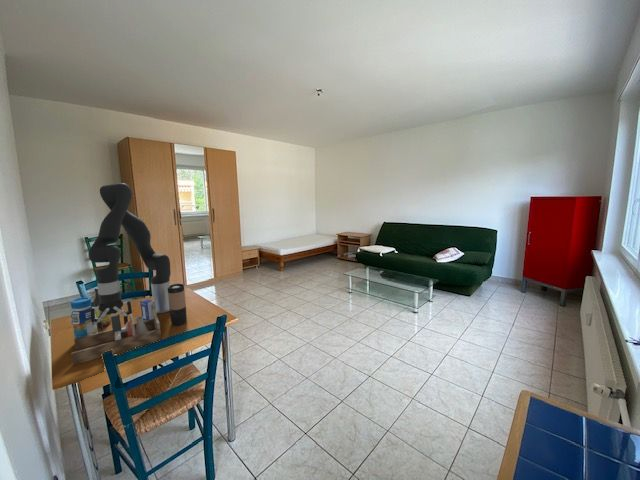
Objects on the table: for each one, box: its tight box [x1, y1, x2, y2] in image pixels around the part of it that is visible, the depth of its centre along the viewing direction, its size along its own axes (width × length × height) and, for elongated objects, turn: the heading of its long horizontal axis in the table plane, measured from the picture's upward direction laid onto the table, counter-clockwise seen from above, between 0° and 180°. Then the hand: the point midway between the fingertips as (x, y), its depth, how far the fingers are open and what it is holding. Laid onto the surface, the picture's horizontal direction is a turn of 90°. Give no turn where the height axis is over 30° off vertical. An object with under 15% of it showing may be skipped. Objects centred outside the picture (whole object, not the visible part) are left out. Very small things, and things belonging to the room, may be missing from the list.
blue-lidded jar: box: [70, 296, 99, 339], centre depth 121 cm, size 8×8×20 cm
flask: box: [135, 315, 150, 335], centre depth 125 cm, size 7×7×10 cm
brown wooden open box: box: [70, 313, 163, 366], centre depth 119 cm, size 30×14×12 cm, turn 128°
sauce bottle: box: [93, 286, 112, 327], centre depth 137 cm, size 6×6×20 cm
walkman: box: [139, 298, 158, 321], centre depth 140 cm, size 8×3×12 cm, turn 67°
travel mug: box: [167, 283, 188, 327], centre depth 139 cm, size 8×8×20 cm
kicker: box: [110, 312, 133, 341], centre depth 120 cm, size 7×14×14 cm, turn 38°
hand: (113, 326), depth 118 cm, fingers open, 8 cm apart
